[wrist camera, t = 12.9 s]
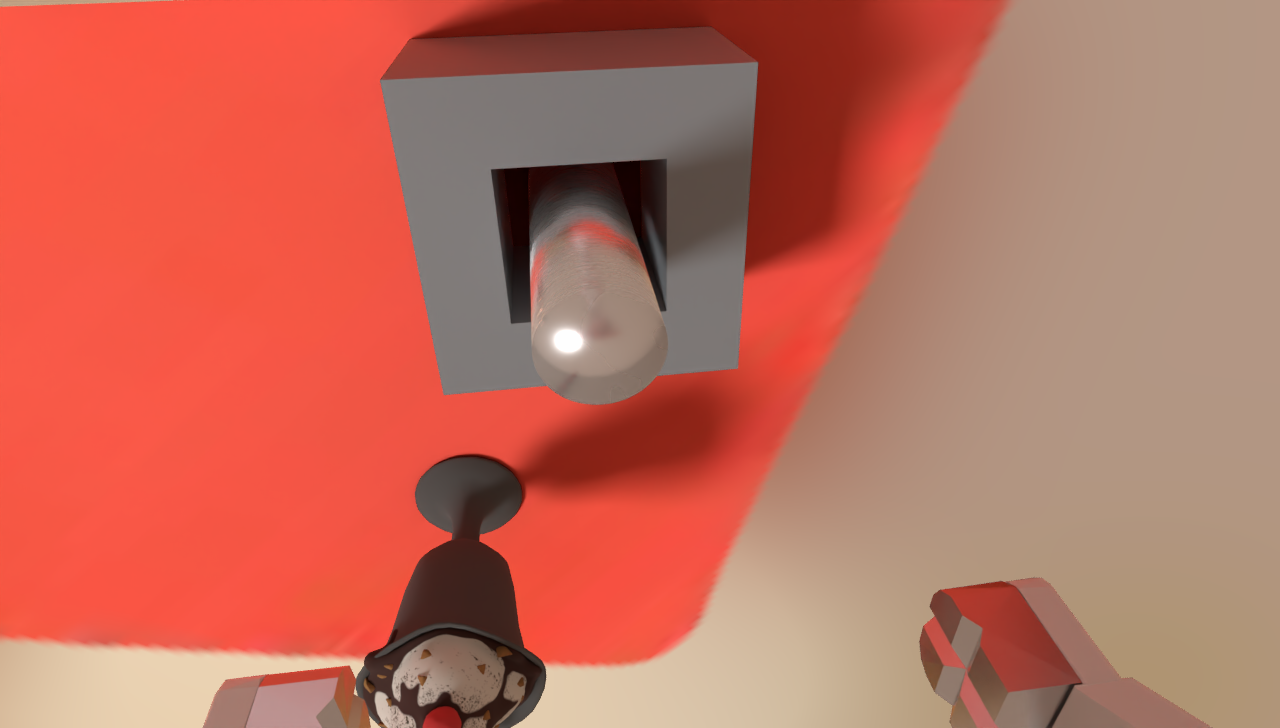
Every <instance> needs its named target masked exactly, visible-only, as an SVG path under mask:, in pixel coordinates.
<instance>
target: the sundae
mask: <svg viewBox="0 0 1280 728" xmlns="http://www.w3.org/2000/svg"><path fill="white" fill-rule="evenodd" d="M415 499H416V504H417V507H418V510H419V511H420V512H421V514H422V515H423V516H424V517H425V518H426V519H427V520H428V521H429V522H430V523H432V524H433V525H435V526H437V527H439V528H441V529H442V530H444V531H447V532H451V533H453V534H452V540H451V541H448V542H446V543H444V544H442V545H440V546H438V547H436V548H434V549H432V550H431V551H429V552H428V553H427V554H425V555H424V556H423V557H422V558H421V559H420V561H419V562H418V564H417V566H416V568H415V570H414V572H413V575H412V577H411V579H410V581H409V583H408V586H407V588H406V590H405V593H404V596H403V599H402V602H401V605H400V608H399V611H398V614H397V618H396V621H395V624H394V627H393V630H392V633H391V635H390V637H389V640H388V642H387V644H386V645H385V646H384V647H383V648H381V649H378V650H375V651H373V652H370V653H369V654H368V655H367V656H366V657H365V660H364V666H363V668H362V670H361V671H360V672H359V674H358V676H357V678H356V684H355V685H356V690H357V694H358V697H360V698H362V699H364V701H365V703H366V706H367V709H368V713H369V716H370V717H371V718H372V719H373V720H374V721H375V722H376V723H377V724H378V725H379V726H380V727H381V728H511V727H512V726H514V725H516V724H517V723H519V722H521V721H522V720H523V719H525V718H526V717H527V716H528V715H529V714H530V713H531V712H532V711H533V710H534V708H535V707H536V705H537V703H538V702H539V700H540V698H541V696H542V693H543V691H544V688H545V682H546V669H545V666H544V664H543V662H542V660H540V659H539V658H538V657H537V656H536V655H534V654H533V653H531V652H530V651H528V650H527V649H525V648H524V644H523V640H522V636H521V633H520V629H519V623H518V616H517V608H516V600H515V592H514V586H513V582H512V578H511V574H510V570H509V566H508V564H507V562H506V560H505V559H504V558H503V557H502V556H501V555H500V554H499V553H498V552H496V551H495V550H493V549H492V548H490V547H488V546H487V545H485V544H483V543H481V542H479V536H480V534H484V533H487V532H490V531H493V530H495V529H497V528H499V527H501V526H503V525H504V524H505V523H507V522H508V521H509V520H510V519H511V518H513V517H514V516H515V515H516V513H517V511H518V509H519V507H520V504H521V502H522V490H521V485H520V484H519V482H518V480H517V478H516V477H515V476H514V474H513V473H512V472H511V471H510V470H508V469H507V468H505V467H504V466H502V465H501V464H499V463H497V462H495V461H492V460H488V459H485V458H479V457H458V458H452V459H449V460H446V461H443V462H441V463H439V464H436V465H434V466H433V467H432V468H430V469H429V470H428V471H427V472H426V473H425V474H424V475H423V476H422V477H421V478H420V480H419V482H418V484H417V487H416V491H415Z"/></svg>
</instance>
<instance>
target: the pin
mask: <svg viewBox="0 0 1280 728" xmlns="http://www.w3.org/2000/svg"><path fill="white" fill-rule="evenodd" d="M528 183H529V235H530V288H531V340H532V358H533V363H534V366H535V369H536V371H537V373H538V374H539V376H540V378H541V379H542V380H543V382H544V383H545V384H546V385H547V386H548V387H549V388H550V389H551V390H553V391H554V392H555V393H557V394H559V395H560V396H562V397H564V398H566V399H569V400H571V401H575V402H578V403H583V404H592V405H601V404H610V403H615V402H619V401H622V400H624V399H627V398H629V397H631V396H633V395H635V394H637V393H639V392H640V391H642V390H643V389H644V388H646V387H647V386H648V385H649V384H650V383H651V382H652V381H653V380H654V379H655V378H656V376H657V375H658V373H659V372H660V370H661V368H662V367H663V364H664V362H665V359H666V355H667V351H668V336H667V331H666V328H665V324H664V321H663V318H662V315H661V312H660V309H659V306H658V303H657V300H656V296H655V293H654V290H653V287H652V284H651V281H650V278H649V275H648V272H647V268H646V265H645V262H644V259H643V256H642V253H641V250H640V247H639V244H638V240H637V237H636V234H635V231H634V228H633V225H632V222H631V219H630V216H629V212H628V209H627V206H626V203H625V200H624V197H623V194H622V191H621V188H620V184H619V181H618V178H617V175H616V172H615V169H614V166H613V163H612V162H604V163H587V164H571V165H554V166H537V167H530V168H529V174H528Z"/></svg>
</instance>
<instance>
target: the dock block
mask: <svg viewBox="0 0 1280 728" xmlns="http://www.w3.org/2000/svg"><path fill="white" fill-rule="evenodd" d="M757 73H758V62H757V61H756V60H755V59H753V58H752V57H751V56H749V55H748V54H747V53H746V52H744V51H743V50H742V49H740V48H739V47H738V46H736V45H735V44H734V43H732V42H731V41H730V40H728V39H727V38H726V37H724V36H723V35H722V34H721V33H719V32H718V31H717V30H715V29H714V28H713V27H711V26H710V27H686V28H662V29H638V30H614V31H590V32H566V33H543V34H519V35H495V36H471V37H447V38H423V39H409V41H408V42H407V44H406V45H405V46H404V48H403V49H402V50H401V52H400V53H399V55H398V56H397V57H396V59H395V60H394V61H393V63H392V64H391V66H390V67H389V68H388V70H387V71H386V72H385V74H384V75H383V77H382V78H381V79H380V83H381V88H382V92H383V97H384V102H385V107H386V112H387V117H388V122H389V127H390V132H391V137H392V142H393V147H394V152H395V157H396V161H397V166H398V171H399V176H400V181H401V186H402V191H403V196H404V201H405V206H406V211H407V216H408V221H409V226H410V231H411V235H412V240H413V245H414V250H415V255H416V260H417V265H418V270H419V275H420V280H421V285H422V290H423V295H424V300H425V304H426V309H427V314H428V319H429V324H430V329H431V334H432V339H433V344H434V349H435V354H436V359H437V364H438V369H439V374H440V378H441V383H442V388H443V393H444V395H450V394H461V393H472V392H483V391H494V390H506V389H517V388H528V387H539V386H547V385H546V384H545V383H544V382H543V380H542V379H541V378H540V376H539V374H538V373H537V371H536V369H535V366H534V363H533V358H532V340H531V288H530V245H525V246H513V241H512V232H511V224H510V216H509V208H508V200H507V191H506V183H505V175H504V168H521V167H537V166H554V165H571V164H587V163H604V162H621V161H637V160H640V161H641V218H642V237H638V238H637V240H638V244H639V247H640V250H641V253H642V256H643V259H644V262H645V265H646V268H647V272H648V275H649V278H650V281H651V284H652V287H653V290H654V293H655V296H656V300H657V303H658V306H659V309H660V312H661V315H662V318H663V321H664V324H665V328H666V331H667V336H668V351H667V355H666V359H665V362H664V364H663V367H662V368H661V370H660V372H659V373H658V375H657V376H661V375H672V374H683V373H694V372H706V371H717V370H728V369H738V358H739V343H740V328H741V313H742V298H743V283H744V268H745V253H746V238H747V223H748V208H749V193H750V178H751V163H752V148H753V133H754V118H755V103H756V88H757Z"/></svg>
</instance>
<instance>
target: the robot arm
mask: <svg viewBox="0 0 1280 728" xmlns="http://www.w3.org/2000/svg"><path fill="white" fill-rule="evenodd" d="M930 608H931V610H932V612H933V613H934V615H935V616H934V617H933V618H932V619H931V620H930V621H929V622H927V623H926V624H925V625H924V626H923V629H922V634H921V637H920V641H919V642H920V652H921V660H922V663H923V666H924V670H925V673H926V675H927V678H928V680H929V682H930V684H931V686H932V688H933V690H934V692H935V693H936V694H938V695H939V696H940V697H942V698H943V699H944V700H946V701H947V702H948V703H950V704H951V705H952V711H951V717H950V724H951V726H952V728H1212V727H1210V726H1209V725H1207V724H1206V723H1204V722H1202V721H1201V720H1199V719H1198V718H1196V717H1194V716H1193V715H1191V714H1189V713H1188V712H1186V711H1185V710H1183V709H1182V708H1180V707H1178V706H1177V705H1175V704H1173V703H1172V702H1170V701H1169V700H1167V699H1165V698H1164V697H1162V696H1161V695H1159V694H1157V693H1156V692H1154V691H1153V690H1151V689H1149V688H1148V687H1146V686H1144V685H1143V684H1141V683H1140V682H1138V681H1137V680H1135V679H1133V678H1121V677H1120V676H1119V674H1118V673H1117V672H1116V671H1115V669H1114V668H1113V666H1112V665H1111V664H1110V663H1109V661H1108V660H1107V659H1106V657H1105V656H1104V655H1103V653H1102V652H1101V651H1100V649H1099V648H1098V647H1097V645H1096V644H1095V643H1094V641H1093V640H1092V639H1091V638H1090V636H1089V635H1088V634H1087V632H1086V631H1085V629H1084V628H1083V627H1082V625H1081V624H1080V623H1079V621H1078V620H1077V619H1076V617H1075V616H1074V615H1073V613H1072V612H1071V611H1070V610H1069V608H1068V607H1067V605H1066V604H1065V603H1064V601H1063V600H1062V599H1061V598H1060V596H1059V595H1058V594H1057V592H1056V591H1055V589H1054V588H1053V587H1052V586H1051V584H1050V583H1048V582H1047V581H1045V580H1044V579H1043V578H1027V579H1020V580H1014V581H1006V582H1003V581H998V582H991V583H984V584H977V585H971V586H964V587H956V588H950V589H943V590H939V591H938V592H937V593H935V594H934V595H933V598H932V601H931V604H930ZM355 684H356V678H355V677H354V674H353V672H352V670H351V668H350V666H342V667H333V668H324V669H315V670H307V671H297V672H289V673H280V674H271V675H269V674H267V675H259V676H251V677H243V678H236V679H228V680H225V682H224V683H223V685H222V686H221V687H220V688H219V690H218V691H217V693H216V694H215V697H214V699H213V702H212V704H211V707H210V710H209V713H208V715H207V718H206V720H205V723H204V726H203V728H370V727H371V726H370V719H369V713H368V709H367V706H366V703H365V701H364V699H362V698H360V697H358V696H356V695H354V689H355Z"/></svg>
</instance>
